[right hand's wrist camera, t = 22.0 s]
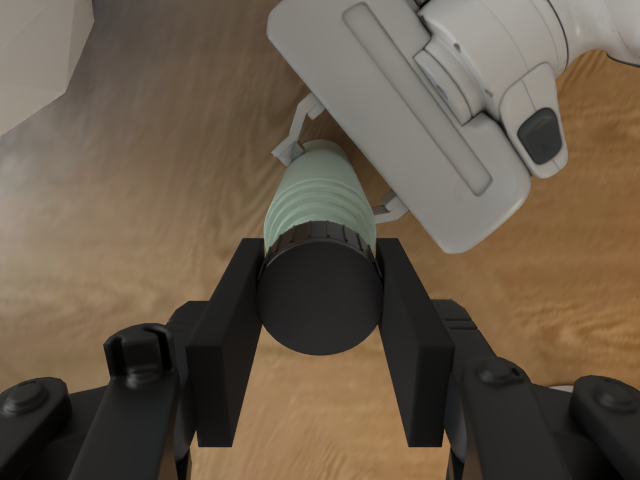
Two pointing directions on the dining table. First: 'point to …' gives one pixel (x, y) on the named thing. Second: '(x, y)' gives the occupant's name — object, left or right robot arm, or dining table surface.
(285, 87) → the dining table surface
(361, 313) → the cap
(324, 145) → the bottle
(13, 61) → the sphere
